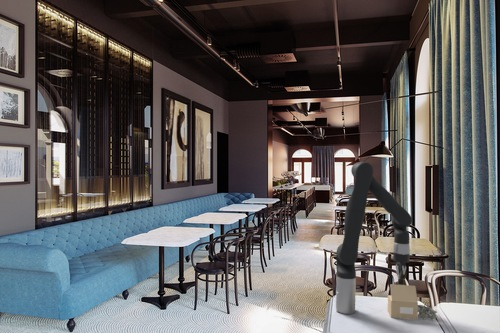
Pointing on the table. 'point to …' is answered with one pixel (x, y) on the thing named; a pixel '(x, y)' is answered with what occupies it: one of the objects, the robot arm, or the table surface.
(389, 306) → the carton
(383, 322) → the table surface
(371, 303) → the table surface
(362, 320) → the table surface
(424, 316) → the grey textured block
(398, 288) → the flap
